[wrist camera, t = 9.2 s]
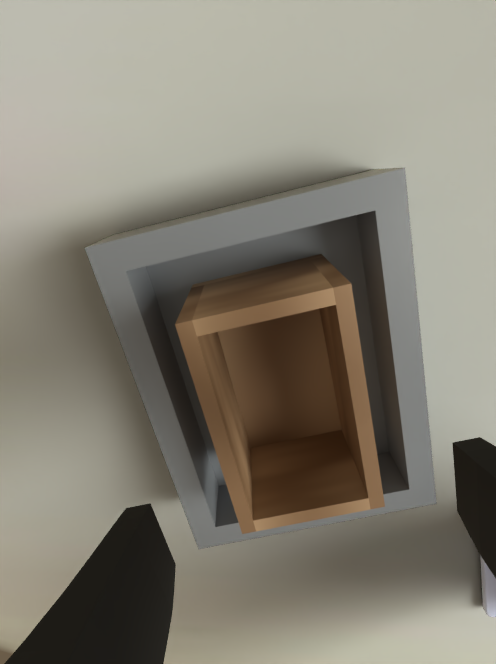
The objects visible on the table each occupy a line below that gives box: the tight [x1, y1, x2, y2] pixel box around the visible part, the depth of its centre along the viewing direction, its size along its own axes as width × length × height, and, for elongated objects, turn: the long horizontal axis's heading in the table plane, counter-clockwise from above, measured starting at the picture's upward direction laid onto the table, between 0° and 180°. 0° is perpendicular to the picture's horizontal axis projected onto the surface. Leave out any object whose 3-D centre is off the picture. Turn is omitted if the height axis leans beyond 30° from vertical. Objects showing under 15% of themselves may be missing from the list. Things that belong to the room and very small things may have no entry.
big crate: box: [85, 168, 436, 549], centre depth 16 cm, size 10×13×3 cm
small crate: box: [175, 254, 385, 534], centre depth 15 cm, size 5×8×4 cm, turn 13°
